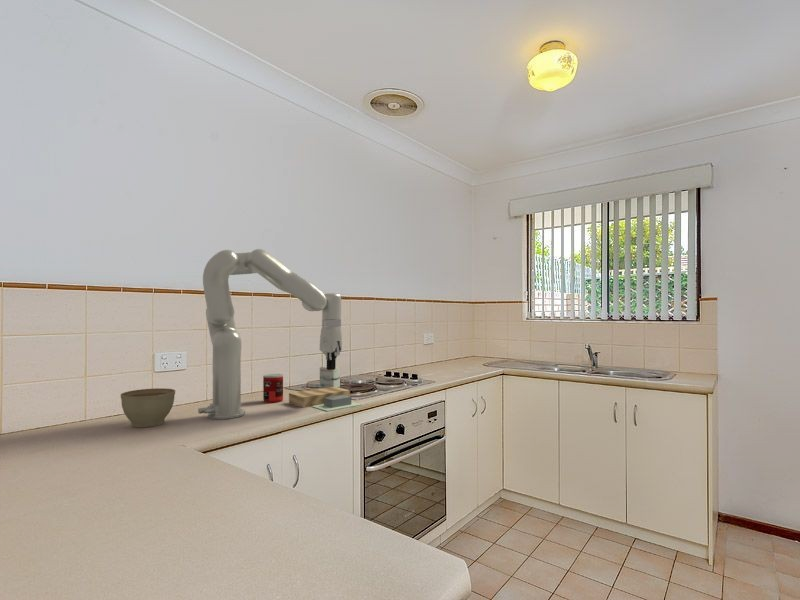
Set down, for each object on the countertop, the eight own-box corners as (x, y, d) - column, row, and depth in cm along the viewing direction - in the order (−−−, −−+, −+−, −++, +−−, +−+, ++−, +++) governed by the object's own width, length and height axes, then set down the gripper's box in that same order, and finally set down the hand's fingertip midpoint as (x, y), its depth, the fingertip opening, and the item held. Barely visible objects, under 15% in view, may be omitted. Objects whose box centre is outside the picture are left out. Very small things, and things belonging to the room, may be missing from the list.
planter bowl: (151, 431, 140) (151, 397, 141) (108, 429, 144) (108, 395, 144) (185, 419, 156) (185, 388, 156) (145, 417, 159) (146, 387, 160)
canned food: (263, 400, 189) (263, 374, 189) (282, 398, 191) (282, 373, 192) (263, 403, 182) (263, 376, 182) (283, 402, 184) (283, 375, 184)
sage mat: (327, 411, 167) (327, 410, 167) (311, 406, 175) (311, 406, 175) (361, 405, 177) (361, 404, 177) (345, 401, 186) (345, 400, 186)
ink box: (340, 392, 205) (340, 366, 205) (333, 394, 201) (333, 368, 201) (326, 390, 210) (326, 365, 210) (319, 392, 205) (319, 366, 206)
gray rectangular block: (323, 397, 176) (323, 405, 176) (332, 400, 172) (332, 407, 171) (342, 394, 182) (342, 402, 182) (351, 396, 178) (351, 404, 178)
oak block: (303, 407, 174) (303, 397, 174) (289, 403, 183) (288, 393, 183) (349, 399, 188) (349, 390, 188) (334, 395, 197) (334, 386, 197)
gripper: (313, 323, 183) (313, 368, 182) (333, 324, 171) (333, 372, 171) (329, 323, 187) (329, 367, 187) (349, 324, 176) (349, 370, 176)
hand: (331, 369), depth 179 cm, fingers closed
